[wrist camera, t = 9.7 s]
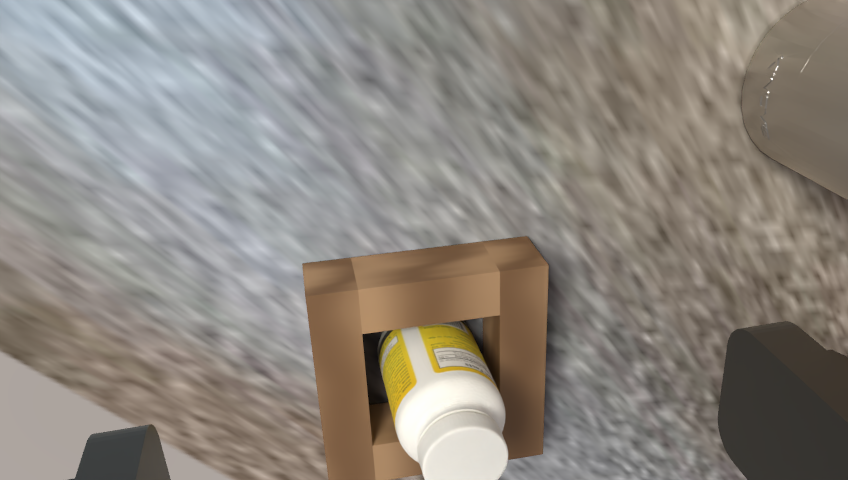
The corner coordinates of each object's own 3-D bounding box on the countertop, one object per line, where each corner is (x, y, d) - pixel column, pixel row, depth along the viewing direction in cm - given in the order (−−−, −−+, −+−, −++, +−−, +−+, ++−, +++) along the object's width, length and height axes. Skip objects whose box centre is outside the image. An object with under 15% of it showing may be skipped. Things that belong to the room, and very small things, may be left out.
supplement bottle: (400, 399, 44) (433, 527, 35) (360, 328, 41) (385, 447, 33) (485, 359, 44) (539, 477, 35) (450, 286, 41) (499, 394, 32)
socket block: (527, 236, 41) (548, 265, 38) (523, 415, 46) (542, 454, 43) (302, 263, 39) (305, 296, 36) (325, 446, 44) (330, 489, 41)
